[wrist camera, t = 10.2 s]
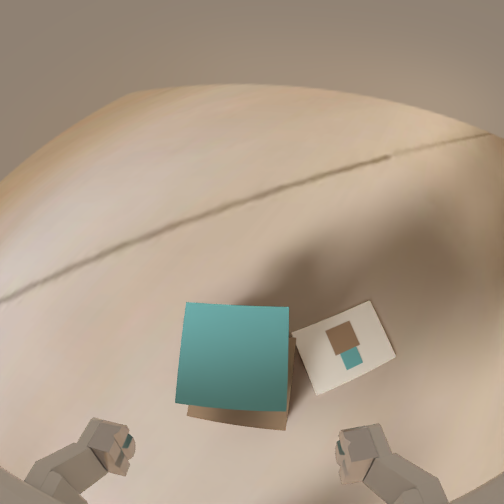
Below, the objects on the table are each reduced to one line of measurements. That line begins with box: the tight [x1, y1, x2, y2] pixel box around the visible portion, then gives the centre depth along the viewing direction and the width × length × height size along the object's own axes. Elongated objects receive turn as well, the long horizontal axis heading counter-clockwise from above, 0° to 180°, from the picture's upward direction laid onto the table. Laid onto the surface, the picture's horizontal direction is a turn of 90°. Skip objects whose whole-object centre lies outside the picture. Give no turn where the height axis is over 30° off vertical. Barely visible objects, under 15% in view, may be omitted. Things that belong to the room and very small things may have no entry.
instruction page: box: [291, 300, 396, 396], centre depth 23 cm, size 8×6×1 cm
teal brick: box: [175, 302, 289, 412], centre depth 15 cm, size 4×4×9 cm
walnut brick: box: [187, 337, 296, 430], centre depth 21 cm, size 7×7×4 cm
